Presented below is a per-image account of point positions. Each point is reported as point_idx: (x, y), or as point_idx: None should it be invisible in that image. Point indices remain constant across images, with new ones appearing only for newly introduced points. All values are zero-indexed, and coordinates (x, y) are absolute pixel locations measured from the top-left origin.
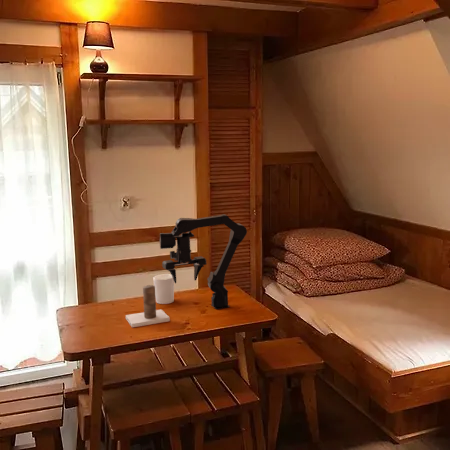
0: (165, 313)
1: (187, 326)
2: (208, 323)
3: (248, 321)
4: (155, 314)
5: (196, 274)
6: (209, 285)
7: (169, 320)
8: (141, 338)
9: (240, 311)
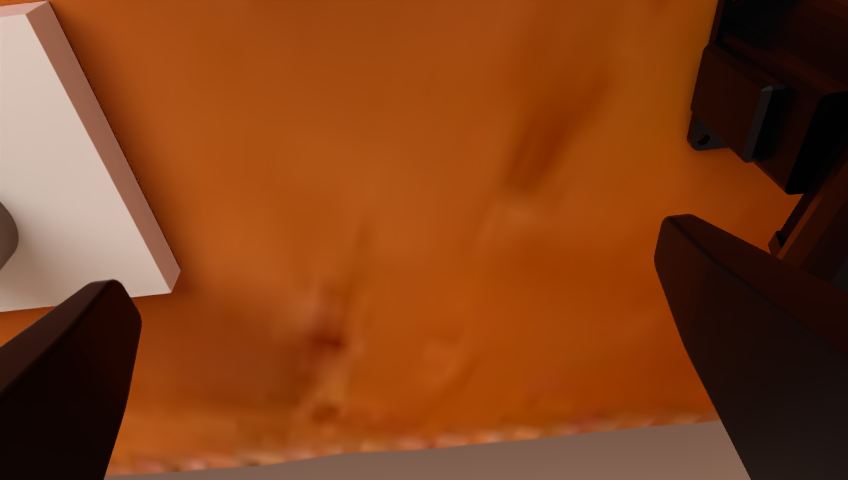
0: (112, 181)
1: (320, 385)
2: (473, 377)
3: None
4: (1, 268)
5: (749, 456)
6: (830, 262)
7: (177, 274)
8: None
9: None
